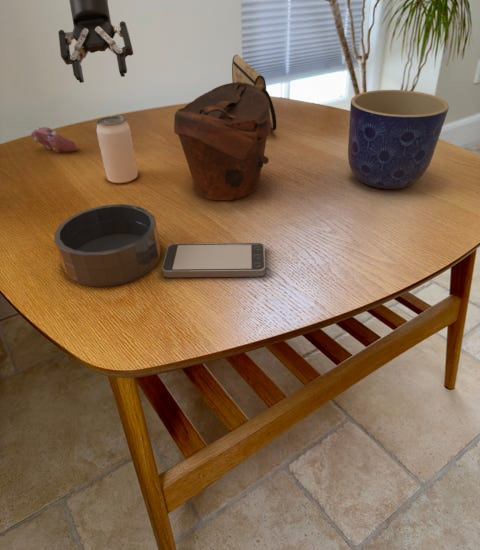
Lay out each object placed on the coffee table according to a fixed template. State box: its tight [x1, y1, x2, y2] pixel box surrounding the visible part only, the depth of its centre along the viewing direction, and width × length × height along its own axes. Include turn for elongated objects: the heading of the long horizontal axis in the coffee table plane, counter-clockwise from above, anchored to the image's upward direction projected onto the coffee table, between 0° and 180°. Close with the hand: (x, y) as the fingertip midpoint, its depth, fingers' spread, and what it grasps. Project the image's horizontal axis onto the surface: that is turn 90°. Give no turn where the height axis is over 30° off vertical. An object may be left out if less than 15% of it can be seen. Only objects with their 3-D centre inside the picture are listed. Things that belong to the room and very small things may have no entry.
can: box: [95, 115, 139, 185], centre depth 88 cm, size 6×6×12 cm
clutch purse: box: [231, 54, 278, 131], centre depth 114 cm, size 30×7×15 cm, turn 12°
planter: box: [347, 89, 450, 190], centre depth 83 cm, size 17×17×15 cm
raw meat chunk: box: [30, 126, 77, 153], centre depth 104 cm, size 10×5×7 cm, turn 55°
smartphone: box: [161, 242, 266, 278], centre depth 65 cm, size 7×1×15 cm
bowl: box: [53, 203, 162, 288], centre depth 66 cm, size 15×15×6 cm
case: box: [173, 82, 272, 201], centre depth 81 cm, size 18×20×18 cm
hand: (101, 77), depth 89 cm, fingers open, 8 cm apart
